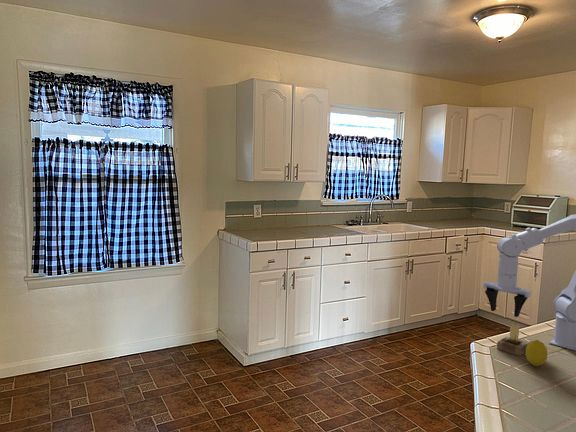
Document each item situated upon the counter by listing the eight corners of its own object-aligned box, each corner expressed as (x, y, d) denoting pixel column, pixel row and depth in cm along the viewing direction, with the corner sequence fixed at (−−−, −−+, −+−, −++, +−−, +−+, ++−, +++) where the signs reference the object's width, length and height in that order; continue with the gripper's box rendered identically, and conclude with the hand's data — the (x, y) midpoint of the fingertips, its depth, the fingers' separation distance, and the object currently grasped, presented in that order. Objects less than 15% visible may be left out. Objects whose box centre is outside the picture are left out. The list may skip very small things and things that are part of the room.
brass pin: (510, 347, 142) (512, 323, 141) (518, 349, 140) (520, 325, 140) (507, 349, 141) (509, 325, 140) (515, 351, 139) (517, 327, 138)
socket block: (506, 343, 145) (507, 336, 145) (528, 350, 140) (529, 342, 140) (497, 348, 141) (497, 341, 141) (519, 355, 136) (520, 348, 135)
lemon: (549, 371, 125) (551, 344, 124) (528, 369, 126) (530, 342, 125) (542, 363, 131) (544, 337, 130) (522, 361, 132) (524, 335, 131)
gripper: (480, 271, 149) (478, 310, 150) (525, 279, 138) (522, 321, 139) (489, 268, 153) (487, 306, 155) (534, 276, 142) (531, 317, 144)
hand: (504, 313), depth 147 cm, fingers open, 7 cm apart
